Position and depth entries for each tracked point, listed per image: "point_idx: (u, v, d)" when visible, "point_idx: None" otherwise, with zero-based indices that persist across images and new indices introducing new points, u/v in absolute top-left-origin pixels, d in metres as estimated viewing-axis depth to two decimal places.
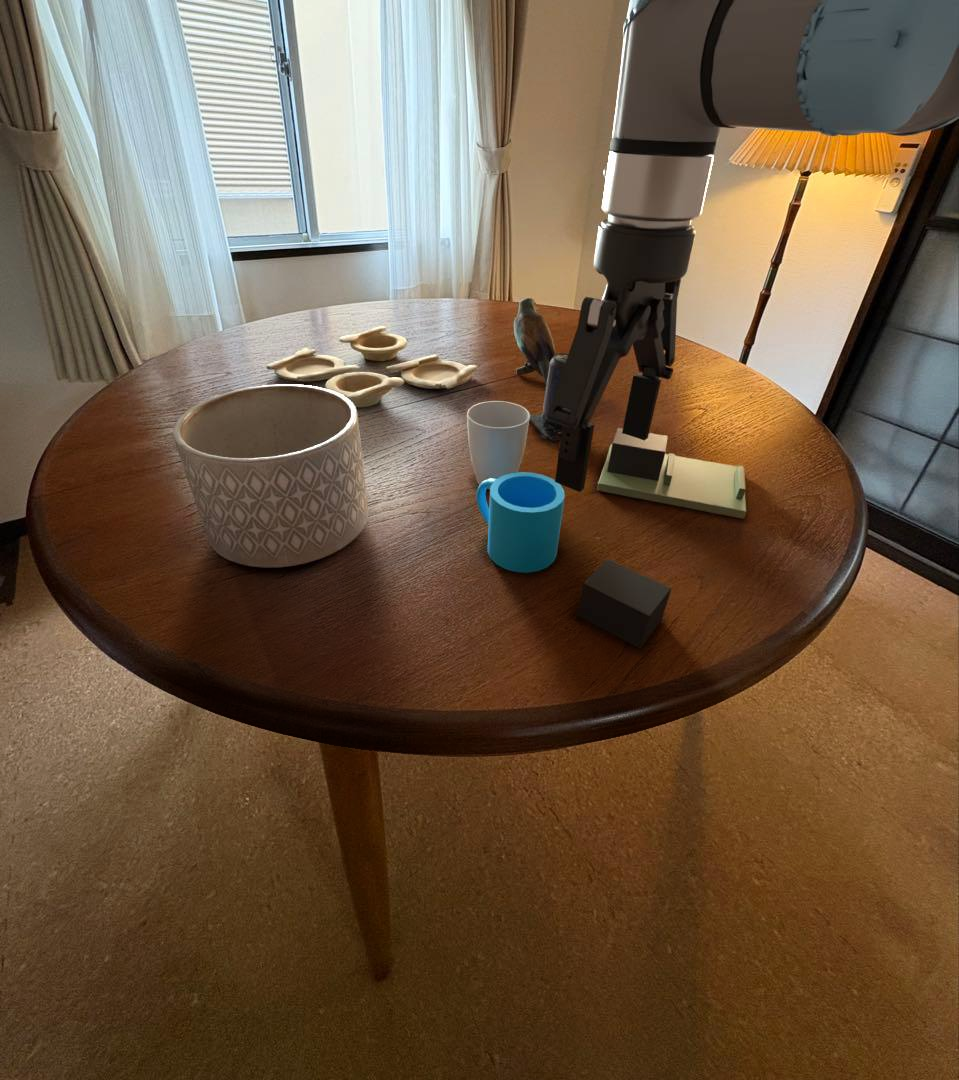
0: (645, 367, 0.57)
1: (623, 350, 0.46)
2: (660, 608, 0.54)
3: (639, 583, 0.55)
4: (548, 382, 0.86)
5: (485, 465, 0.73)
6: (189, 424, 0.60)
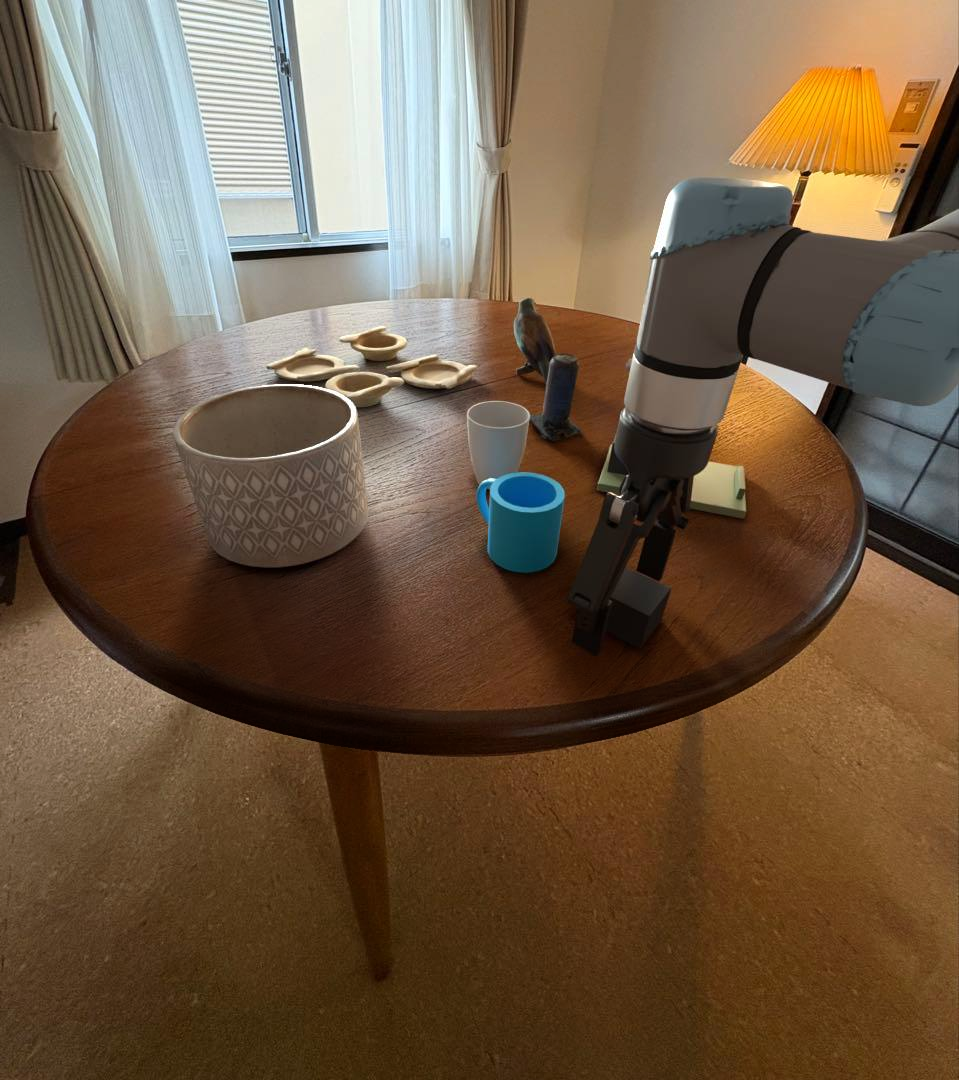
0: (661, 516, 0.57)
1: (643, 535, 0.46)
2: (660, 608, 0.54)
3: (639, 583, 0.55)
4: (548, 382, 0.86)
5: (485, 465, 0.73)
6: (189, 424, 0.60)
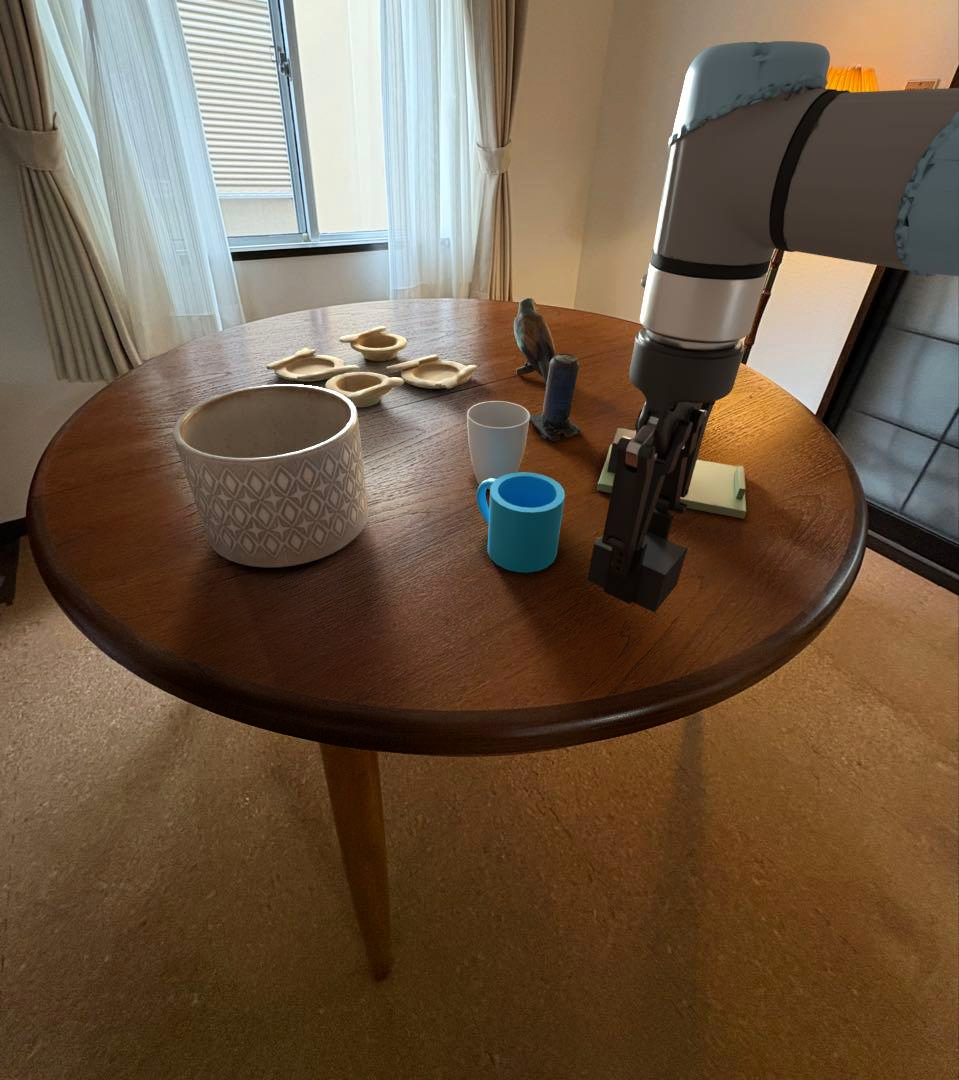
0: (656, 500, 0.52)
1: (668, 472, 0.43)
2: (676, 569, 0.51)
3: (653, 543, 0.52)
4: (548, 382, 0.86)
5: (485, 465, 0.73)
6: (189, 424, 0.60)
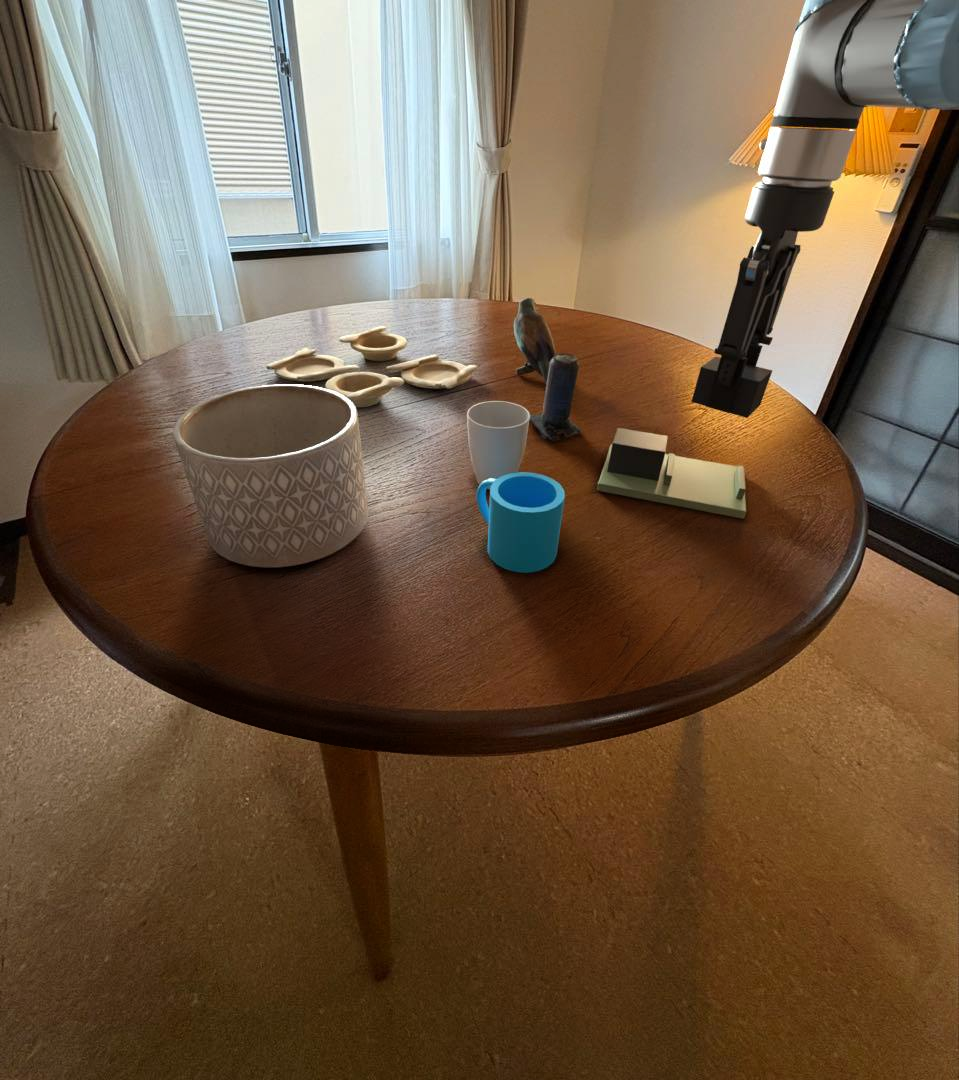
0: None
1: (770, 293, 0.60)
2: (764, 385, 0.67)
3: (745, 367, 0.68)
4: (548, 382, 0.86)
5: (485, 465, 0.73)
6: (189, 424, 0.60)
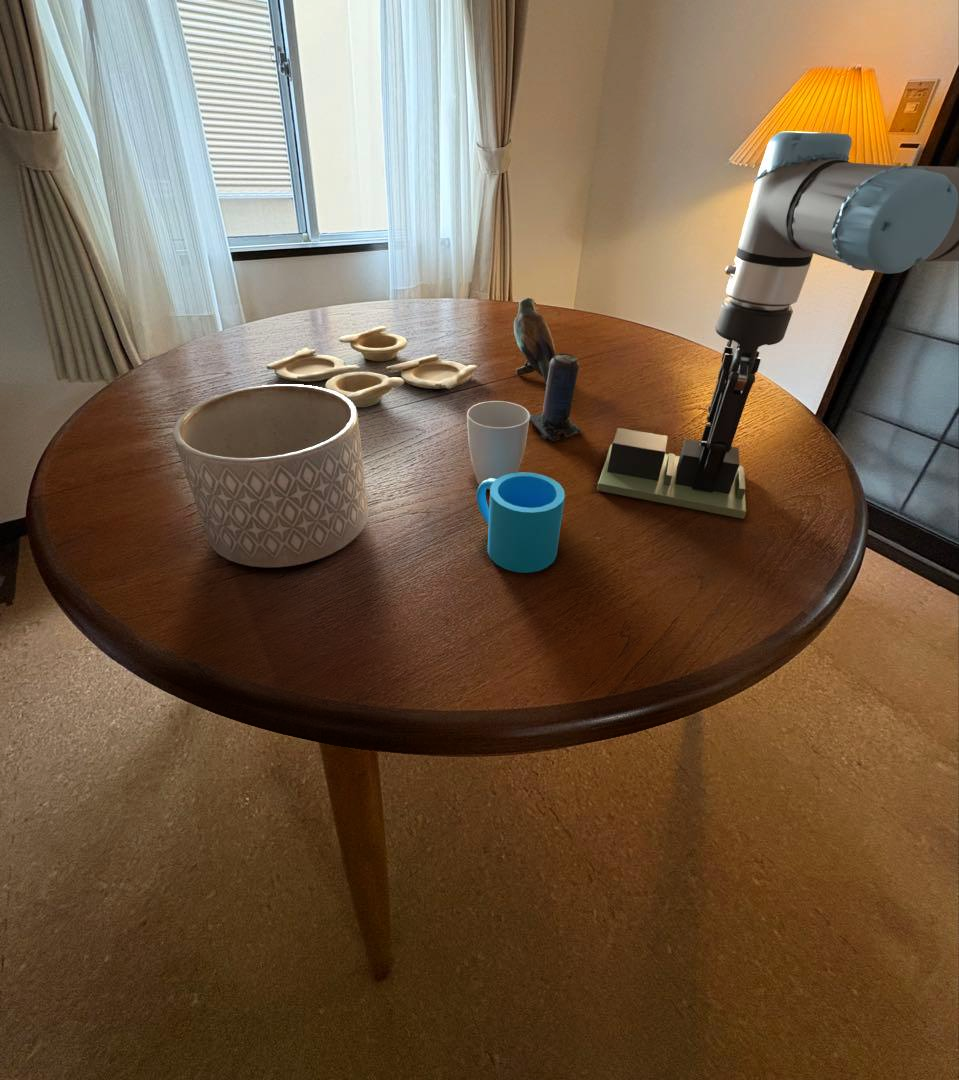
0: (713, 419, 0.75)
1: None
2: None
3: None
4: (548, 382, 0.86)
5: (485, 465, 0.73)
6: (189, 424, 0.60)
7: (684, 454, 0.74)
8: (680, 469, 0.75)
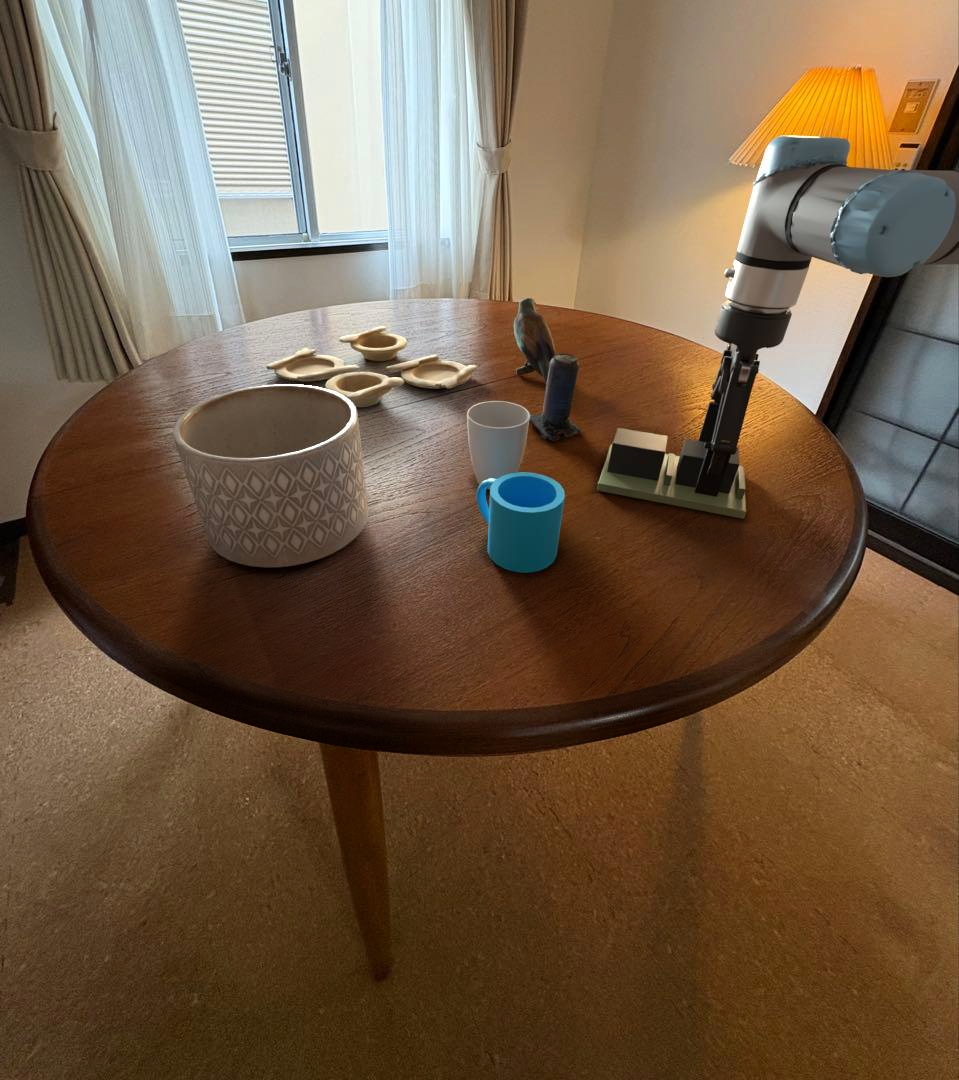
0: (717, 396, 0.77)
1: None
2: None
3: None
4: (548, 382, 0.86)
5: (485, 465, 0.73)
6: (189, 424, 0.60)
7: (684, 454, 0.74)
8: (680, 469, 0.75)
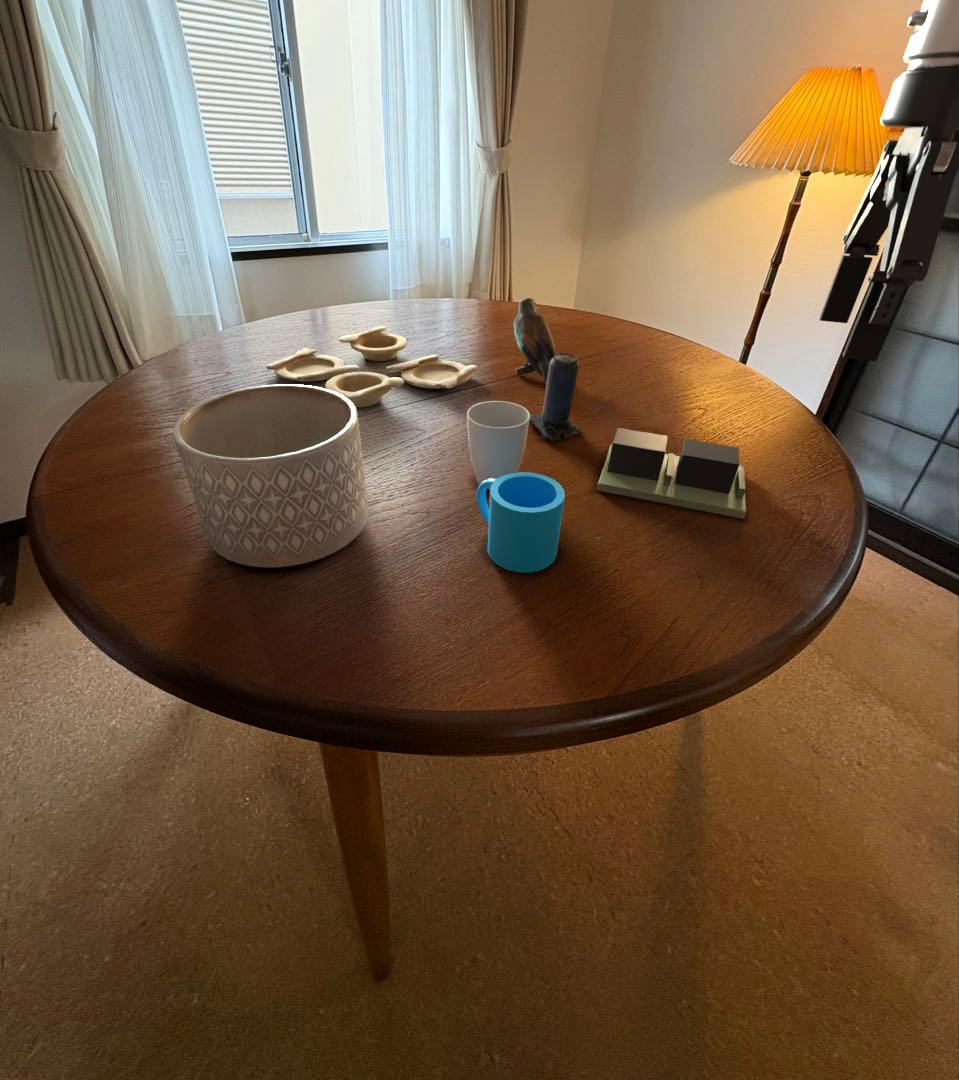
0: (854, 246, 0.59)
1: None
2: None
3: (717, 448, 0.75)
4: (548, 382, 0.86)
5: (485, 465, 0.73)
6: (189, 424, 0.60)
7: (684, 454, 0.74)
8: (680, 469, 0.75)
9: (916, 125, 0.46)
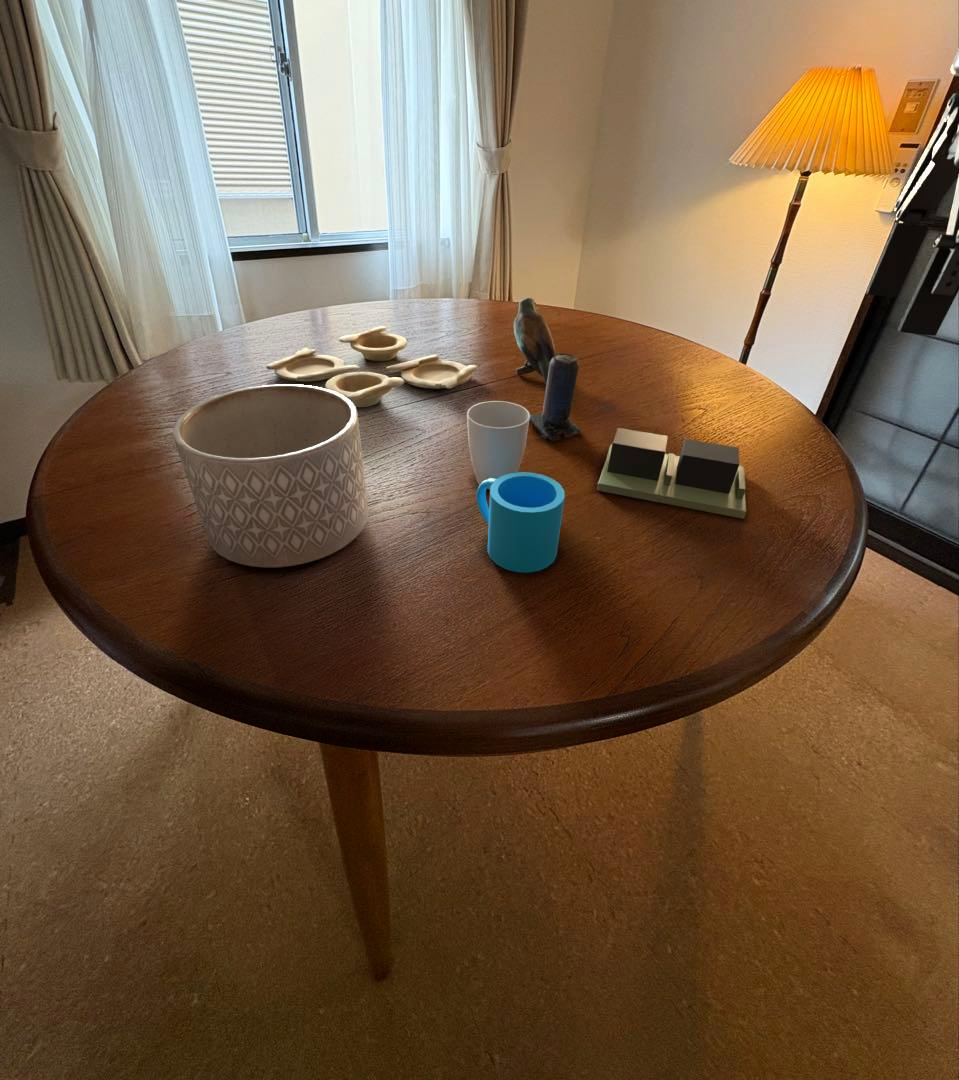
0: (908, 213, 0.54)
1: None
2: None
3: (717, 448, 0.75)
4: (548, 382, 0.86)
5: (485, 465, 0.73)
6: (189, 424, 0.60)
7: (684, 454, 0.74)
8: (680, 469, 0.75)
9: None
